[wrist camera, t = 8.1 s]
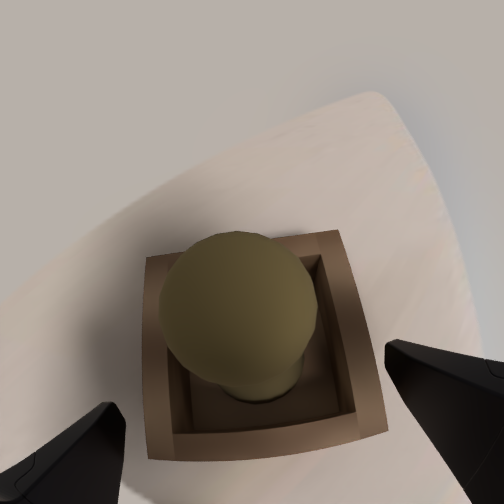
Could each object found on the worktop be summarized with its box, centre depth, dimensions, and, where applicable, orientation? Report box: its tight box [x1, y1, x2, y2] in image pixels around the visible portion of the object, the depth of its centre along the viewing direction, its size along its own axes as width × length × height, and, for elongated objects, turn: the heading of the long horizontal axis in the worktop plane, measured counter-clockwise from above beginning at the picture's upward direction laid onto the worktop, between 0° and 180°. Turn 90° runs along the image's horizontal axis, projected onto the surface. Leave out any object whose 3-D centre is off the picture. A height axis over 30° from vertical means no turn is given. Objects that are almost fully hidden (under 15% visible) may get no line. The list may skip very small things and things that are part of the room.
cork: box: [158, 231, 318, 405], centre depth 12 cm, size 6×6×11 cm
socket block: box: [142, 230, 389, 461], centre depth 16 cm, size 12×12×4 cm
